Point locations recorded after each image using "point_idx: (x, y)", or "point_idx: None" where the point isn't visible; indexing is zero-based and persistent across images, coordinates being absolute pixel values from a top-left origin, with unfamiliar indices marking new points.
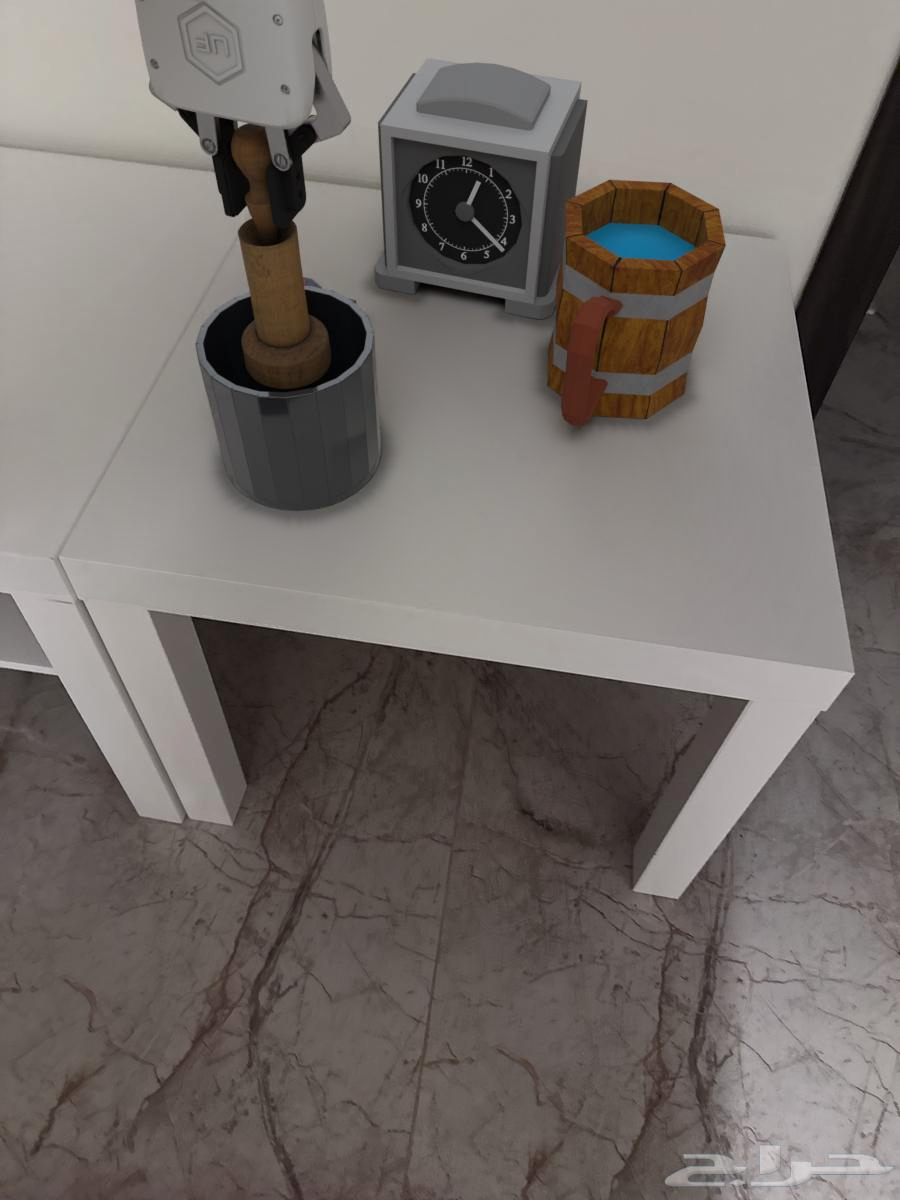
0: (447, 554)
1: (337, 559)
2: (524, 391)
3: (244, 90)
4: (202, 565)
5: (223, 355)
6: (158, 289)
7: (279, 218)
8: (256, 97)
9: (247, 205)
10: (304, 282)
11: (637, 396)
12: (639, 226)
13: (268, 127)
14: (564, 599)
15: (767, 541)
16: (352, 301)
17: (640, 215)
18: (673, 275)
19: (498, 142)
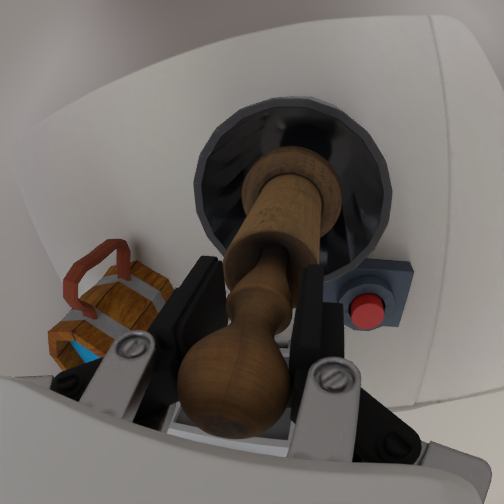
0: (156, 109)
1: (224, 69)
2: (178, 271)
3: (24, 487)
4: (320, 27)
5: (374, 192)
6: (470, 300)
7: (198, 264)
8: (6, 455)
9: (278, 287)
10: (353, 321)
11: (108, 275)
12: None
13: (115, 410)
14: (88, 113)
15: (39, 200)
16: None
17: None
18: (52, 329)
19: (199, 435)
